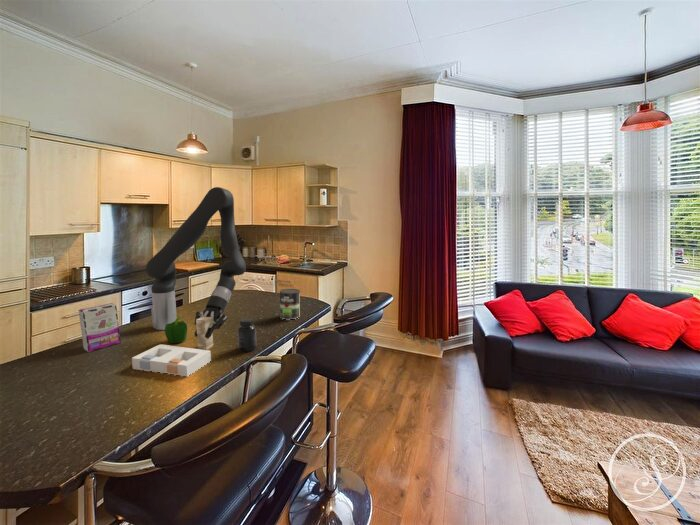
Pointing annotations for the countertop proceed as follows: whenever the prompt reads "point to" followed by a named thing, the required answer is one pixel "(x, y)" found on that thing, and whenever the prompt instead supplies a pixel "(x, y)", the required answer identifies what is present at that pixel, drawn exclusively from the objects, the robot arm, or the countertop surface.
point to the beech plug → (203, 333)
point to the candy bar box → (99, 327)
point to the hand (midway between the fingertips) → (201, 336)
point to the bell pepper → (176, 331)
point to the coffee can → (289, 304)
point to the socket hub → (171, 360)
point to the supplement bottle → (247, 335)
